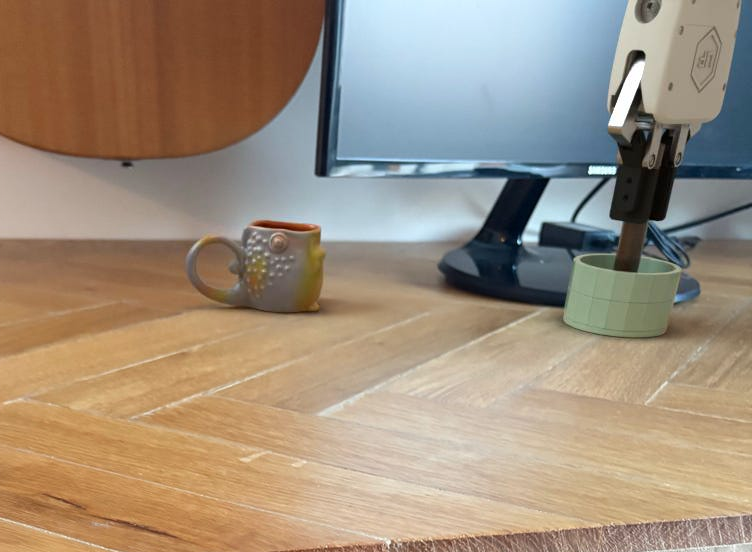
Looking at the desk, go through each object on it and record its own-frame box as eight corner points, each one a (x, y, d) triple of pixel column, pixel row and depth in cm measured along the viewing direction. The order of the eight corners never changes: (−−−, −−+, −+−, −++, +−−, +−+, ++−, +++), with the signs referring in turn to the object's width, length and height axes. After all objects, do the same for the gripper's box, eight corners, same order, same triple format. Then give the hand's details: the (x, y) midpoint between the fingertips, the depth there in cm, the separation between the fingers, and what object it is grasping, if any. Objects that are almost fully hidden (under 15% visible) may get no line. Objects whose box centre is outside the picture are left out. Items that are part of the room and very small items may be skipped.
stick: (624, 303, 86) (659, 141, 80) (644, 312, 84) (681, 145, 77) (591, 303, 86) (623, 140, 79) (609, 312, 83) (644, 145, 76)
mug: (308, 295, 90) (313, 216, 87) (331, 313, 84) (337, 230, 81) (177, 298, 87) (177, 216, 84) (192, 317, 82) (192, 230, 78)
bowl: (633, 311, 90) (646, 253, 87) (687, 337, 83) (703, 274, 80) (545, 312, 88) (556, 253, 85) (592, 338, 81) (606, 274, 78)
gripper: (689, -67, 64) (626, 236, 74) (794, -47, 74) (726, 219, 83) (588, -63, 69) (541, 221, 79) (699, -45, 78) (645, 207, 88)
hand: (637, 218), depth 81 cm, fingers closed on stick, 2 cm apart
